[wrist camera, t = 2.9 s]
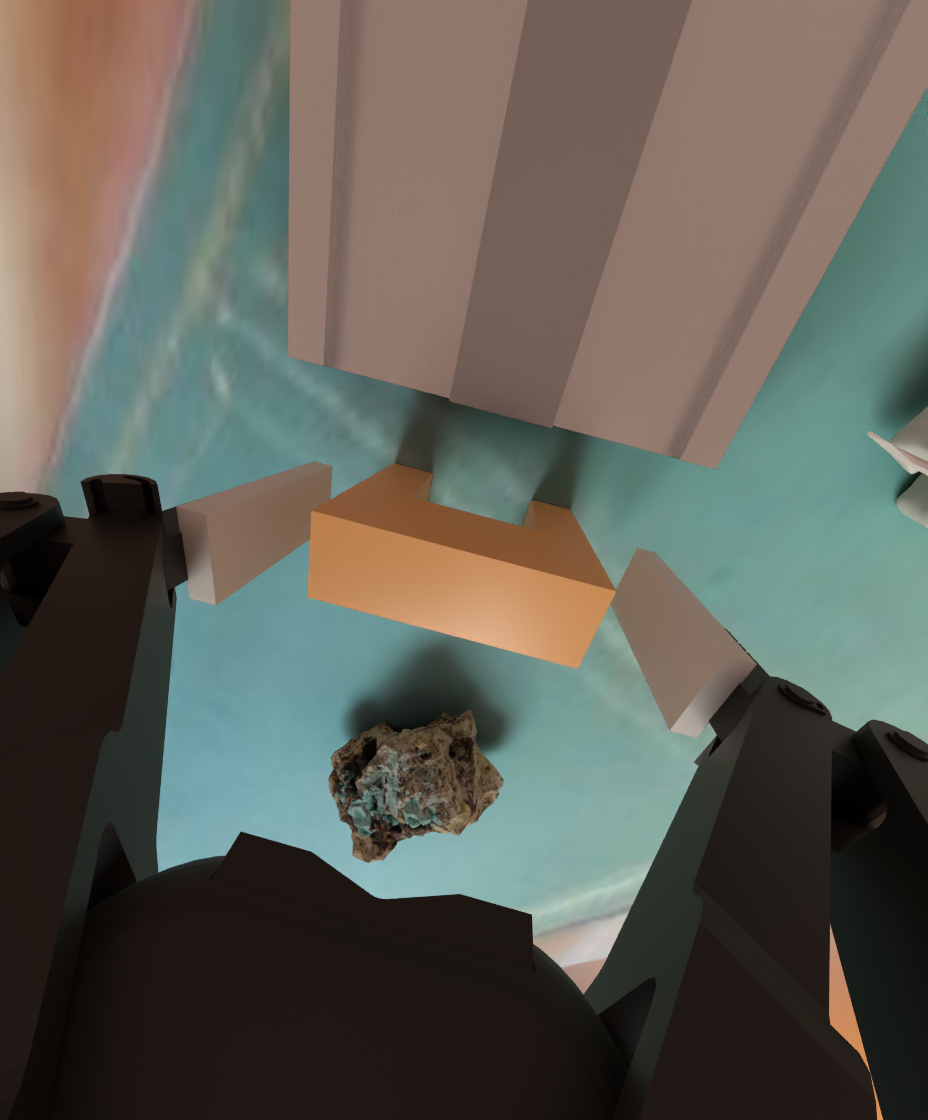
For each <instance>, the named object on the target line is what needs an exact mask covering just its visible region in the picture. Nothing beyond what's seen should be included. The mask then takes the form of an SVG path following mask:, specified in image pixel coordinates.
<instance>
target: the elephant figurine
mask: <svg viewBox="0 0 928 1120" xmlns="http://www.w3.org/2000/svg"><path fill="white" fill-rule="evenodd" d="M867 435H869V436H870V437H871V438H872V439H873V440H875V441H876V442H877V443H878V444H879V445H880V446H882V447H883V448H884V449H885V450H886V451H888V452H889V453H890V454H891V455H892V456H893V457H894V458H895V460H896V461H897V462H898V463H899V464H900V465H901V466H902V467H903V468H904V469H905V470H906V471H908V472H909V473H910V474H914V473H916V472H918V471H920V472H922V473H923V474H921V475H920V476H919V477H918V478H917V479H916V480H915V481H914V483H913V484H912V485H911V486H910V487H909V488H908V489H907V490H906V491H905V492H904V493H903V494H901V495H900V496H899V497H898V498H897V500H896V505H897V507H898V509H899V510H900V511H901V512H902V513H903V514H905V515H907V516H908V517H910V518H912V519H913V520H915V521H917V522H918V523H920V524H921V525H923V526H924V527H926V528H928V407H927V408H925V409H924V410H923V411H922V412H921V413H920V414H918V415H917V416H916V417H915V418H914V419H912V420H911V421H910V422H909V423H908V424H906V425H905V426H904V427H903V428H902V429H901V430H899V431H898V432H897V433H896V434H895V435H894V436H893V437H892V438H891V439H890V441H889V442H888V441H886V440H884V439H883V438H881V437H879V436H877V435H876V434H874V433H872V432H871V431H869V432H868V433H867Z"/></svg>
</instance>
